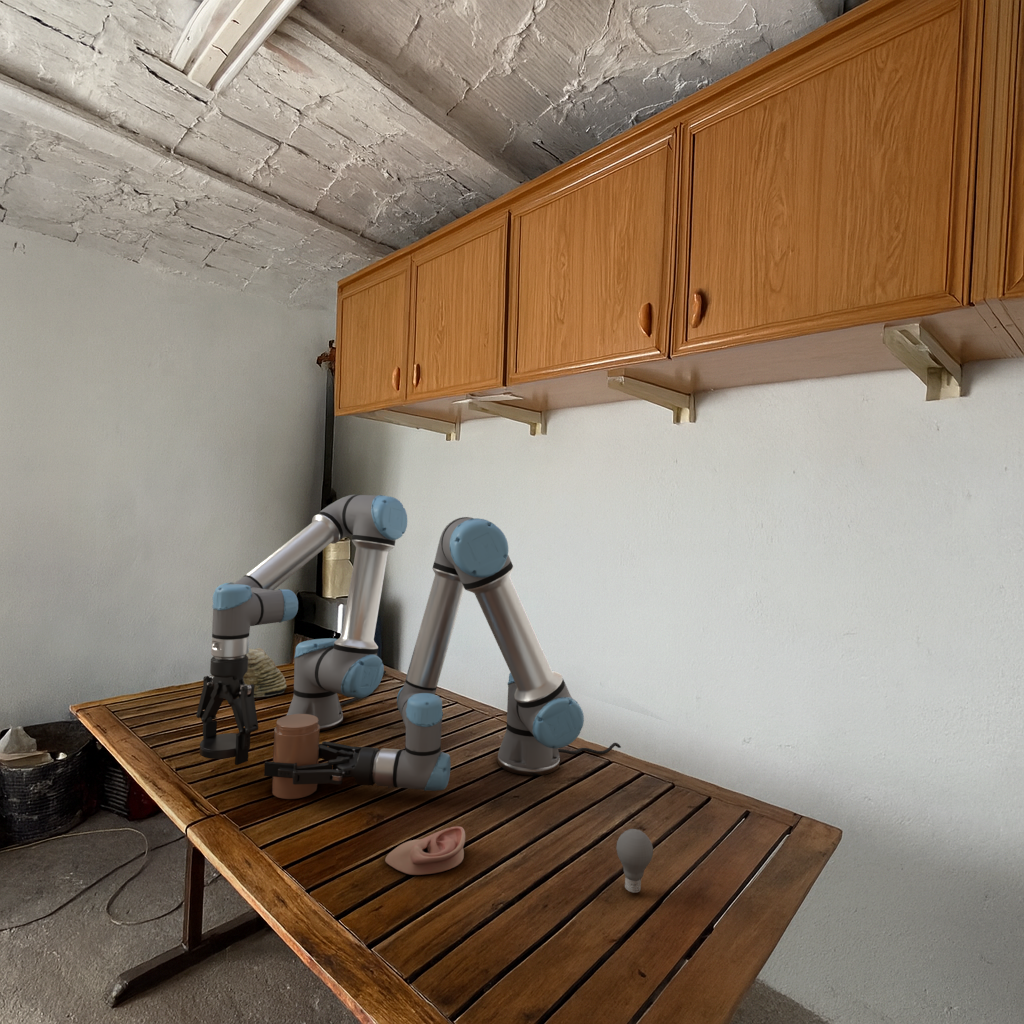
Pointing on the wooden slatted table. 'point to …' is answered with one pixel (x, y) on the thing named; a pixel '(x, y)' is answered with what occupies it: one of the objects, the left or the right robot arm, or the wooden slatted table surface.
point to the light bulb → (634, 857)
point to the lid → (219, 746)
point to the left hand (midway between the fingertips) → (225, 756)
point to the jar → (295, 752)
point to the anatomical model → (429, 853)
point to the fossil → (263, 674)
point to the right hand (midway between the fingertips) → (276, 758)
